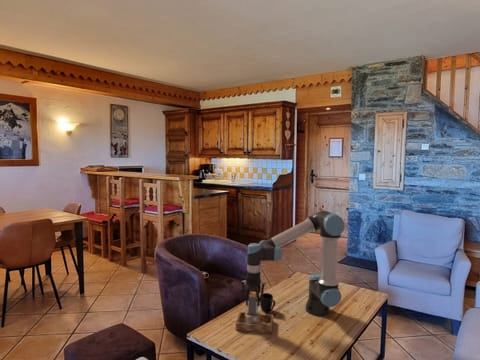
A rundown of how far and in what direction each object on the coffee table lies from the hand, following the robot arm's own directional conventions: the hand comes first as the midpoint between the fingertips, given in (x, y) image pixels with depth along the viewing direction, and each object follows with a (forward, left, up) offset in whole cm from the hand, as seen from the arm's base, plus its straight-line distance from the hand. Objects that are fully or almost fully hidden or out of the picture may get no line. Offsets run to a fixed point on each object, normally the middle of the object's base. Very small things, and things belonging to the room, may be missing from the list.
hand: (252, 311), depth 186 cm
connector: (0, 0, 0) cm, 0 cm away
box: (-2, 0, -9) cm, 9 cm away
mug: (-8, -19, -9) cm, 22 cm away
